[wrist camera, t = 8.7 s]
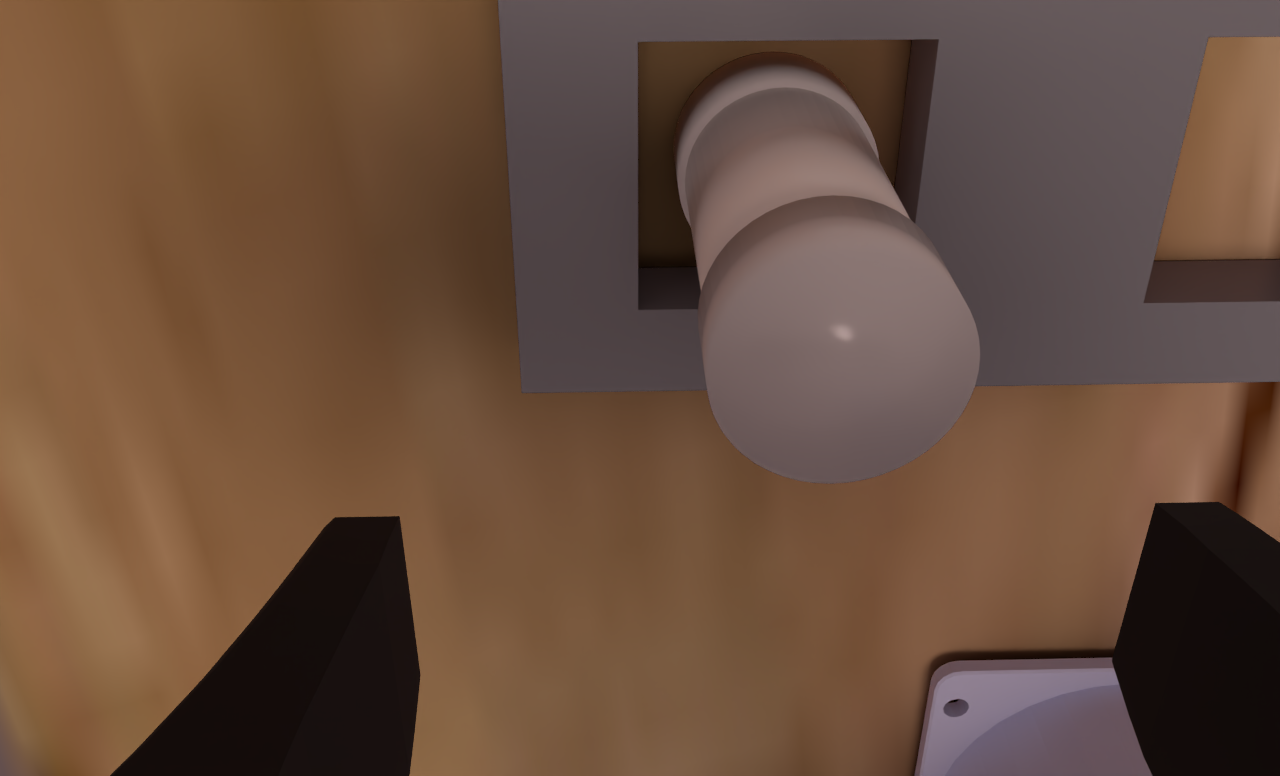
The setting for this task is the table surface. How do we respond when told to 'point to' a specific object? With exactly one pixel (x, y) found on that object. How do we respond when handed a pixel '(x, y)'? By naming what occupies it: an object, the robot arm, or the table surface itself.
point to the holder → (902, 184)
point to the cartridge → (814, 280)
